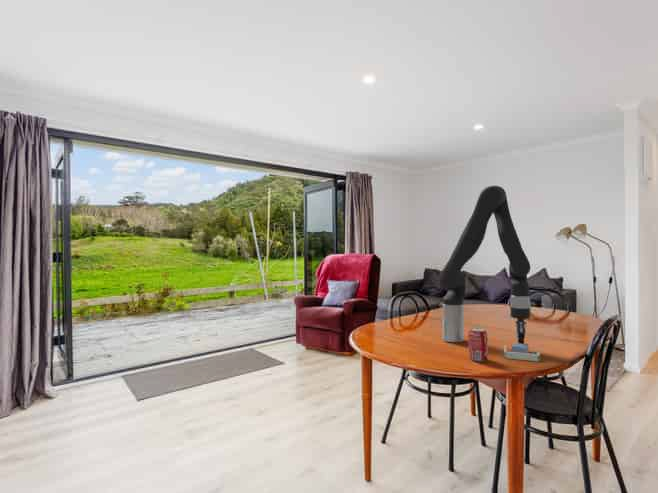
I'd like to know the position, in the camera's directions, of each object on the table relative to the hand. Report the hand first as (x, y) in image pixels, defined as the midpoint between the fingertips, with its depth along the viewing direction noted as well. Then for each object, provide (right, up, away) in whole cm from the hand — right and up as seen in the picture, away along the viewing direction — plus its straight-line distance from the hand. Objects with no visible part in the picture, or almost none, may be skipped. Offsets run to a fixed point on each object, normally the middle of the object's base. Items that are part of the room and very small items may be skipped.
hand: (521, 347), depth 160 cm
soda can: (-22, -2, -10) cm, 24 cm away
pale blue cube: (-3, -2, -4) cm, 5 cm away
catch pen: (-3, -2, -6) cm, 7 cm away
